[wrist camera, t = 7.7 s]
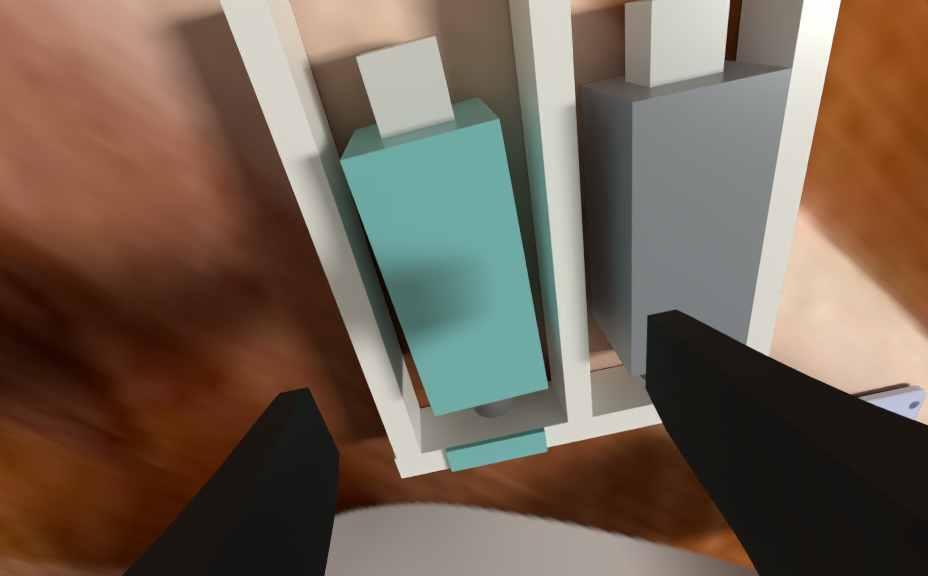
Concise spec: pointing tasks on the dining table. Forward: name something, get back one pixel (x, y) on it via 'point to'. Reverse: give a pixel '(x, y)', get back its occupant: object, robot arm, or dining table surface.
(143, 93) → the dining table surface
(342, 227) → the cable comb
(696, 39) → the grey plug
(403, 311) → the teal plug
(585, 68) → the dining table surface
